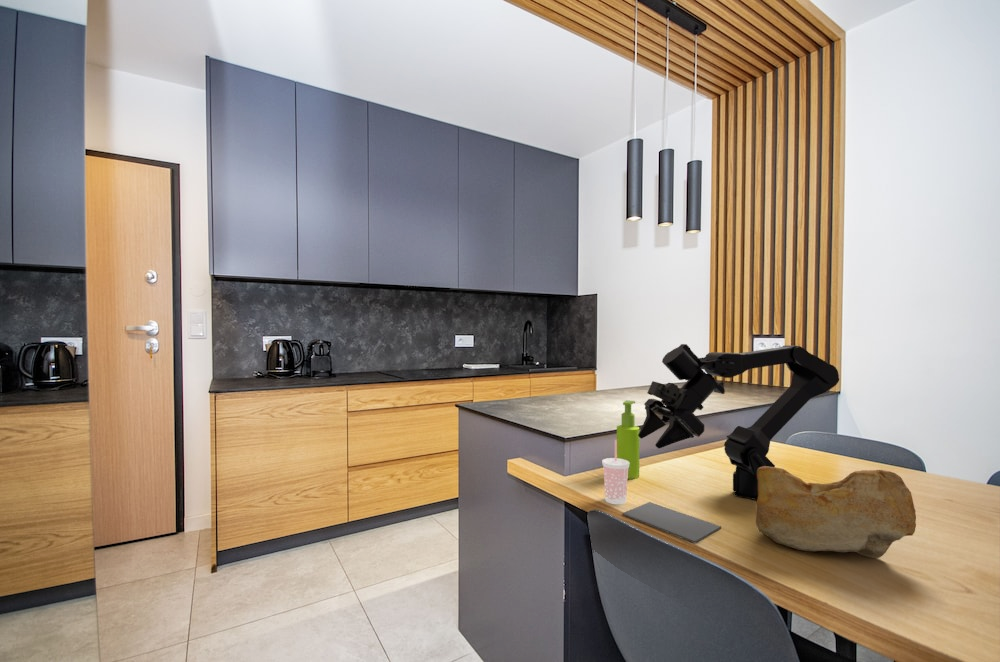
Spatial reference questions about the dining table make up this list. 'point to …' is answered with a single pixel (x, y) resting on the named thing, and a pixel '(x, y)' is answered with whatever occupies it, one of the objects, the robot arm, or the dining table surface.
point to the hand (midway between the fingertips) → (647, 441)
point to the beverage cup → (615, 479)
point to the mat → (672, 522)
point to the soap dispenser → (628, 441)
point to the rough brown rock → (835, 511)
